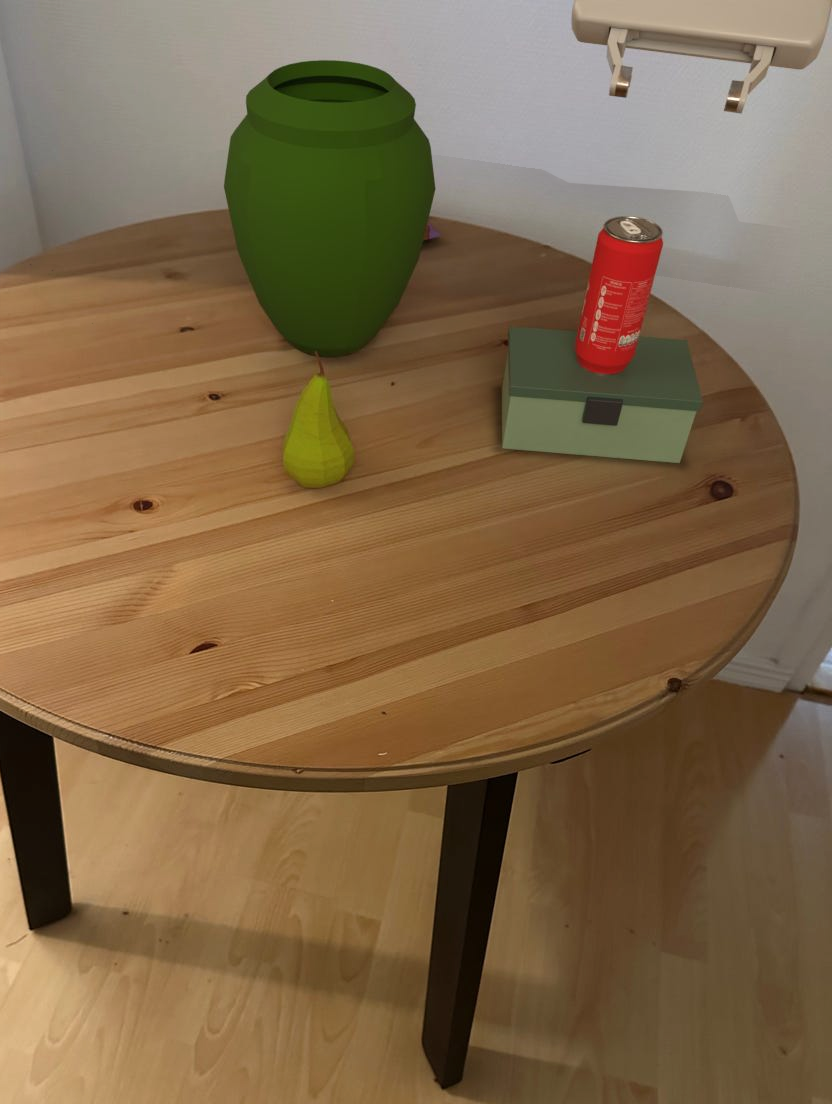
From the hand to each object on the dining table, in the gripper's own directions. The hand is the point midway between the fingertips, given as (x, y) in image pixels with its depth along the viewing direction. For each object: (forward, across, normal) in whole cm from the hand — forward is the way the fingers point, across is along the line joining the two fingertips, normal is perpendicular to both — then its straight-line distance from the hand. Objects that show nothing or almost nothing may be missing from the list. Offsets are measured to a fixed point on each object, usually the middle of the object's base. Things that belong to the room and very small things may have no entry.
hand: (675, 101), depth 81 cm
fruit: (+37, -21, -2) cm, 43 cm away
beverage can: (+20, -1, +6) cm, 21 cm away
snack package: (+1, -30, +34) cm, 45 cm away
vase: (+21, -29, +15) cm, 38 cm away
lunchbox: (+25, -1, +10) cm, 27 cm away
